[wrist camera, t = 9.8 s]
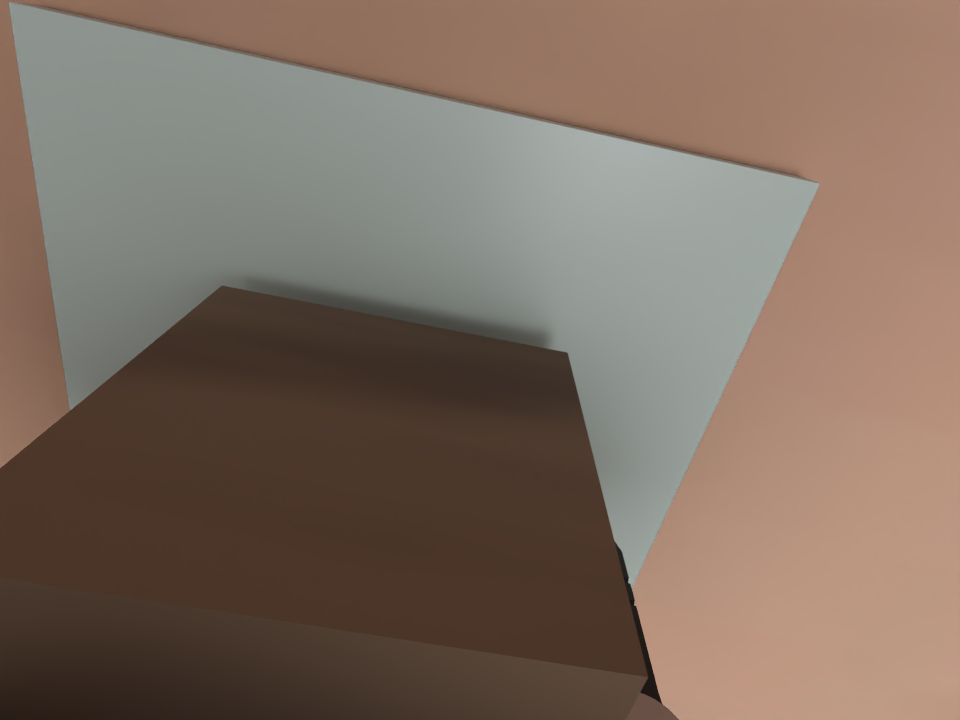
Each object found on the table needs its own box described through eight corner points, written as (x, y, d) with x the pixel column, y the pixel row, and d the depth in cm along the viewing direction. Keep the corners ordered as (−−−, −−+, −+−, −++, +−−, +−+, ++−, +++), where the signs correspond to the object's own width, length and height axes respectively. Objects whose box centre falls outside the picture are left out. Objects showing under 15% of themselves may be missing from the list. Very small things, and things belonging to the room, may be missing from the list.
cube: (221, 285, 10) (-111, 560, 4) (567, 352, 10) (648, 677, 5) (223, 543, 12) (20, 905, 7) (495, 587, 13) (496, 960, 8)
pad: (36, 5, 9) (7, 1, 9) (803, 177, 10) (820, 183, 10) (110, 574, 15) (97, 593, 15) (590, 649, 16) (593, 669, 16)
